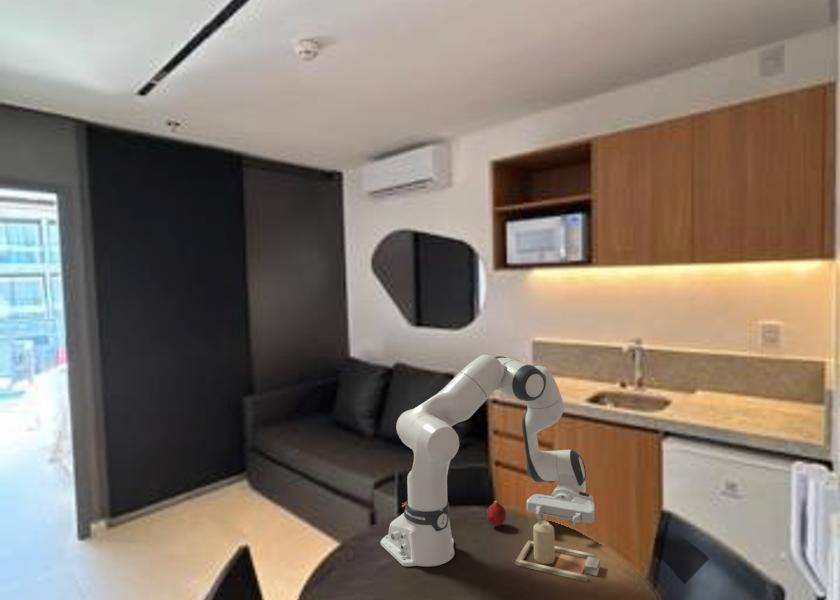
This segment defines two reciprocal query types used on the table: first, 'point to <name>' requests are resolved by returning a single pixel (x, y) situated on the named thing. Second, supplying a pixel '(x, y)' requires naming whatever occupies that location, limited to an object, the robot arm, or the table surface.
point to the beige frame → (564, 563)
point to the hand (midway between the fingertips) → (554, 519)
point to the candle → (544, 542)
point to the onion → (496, 514)
